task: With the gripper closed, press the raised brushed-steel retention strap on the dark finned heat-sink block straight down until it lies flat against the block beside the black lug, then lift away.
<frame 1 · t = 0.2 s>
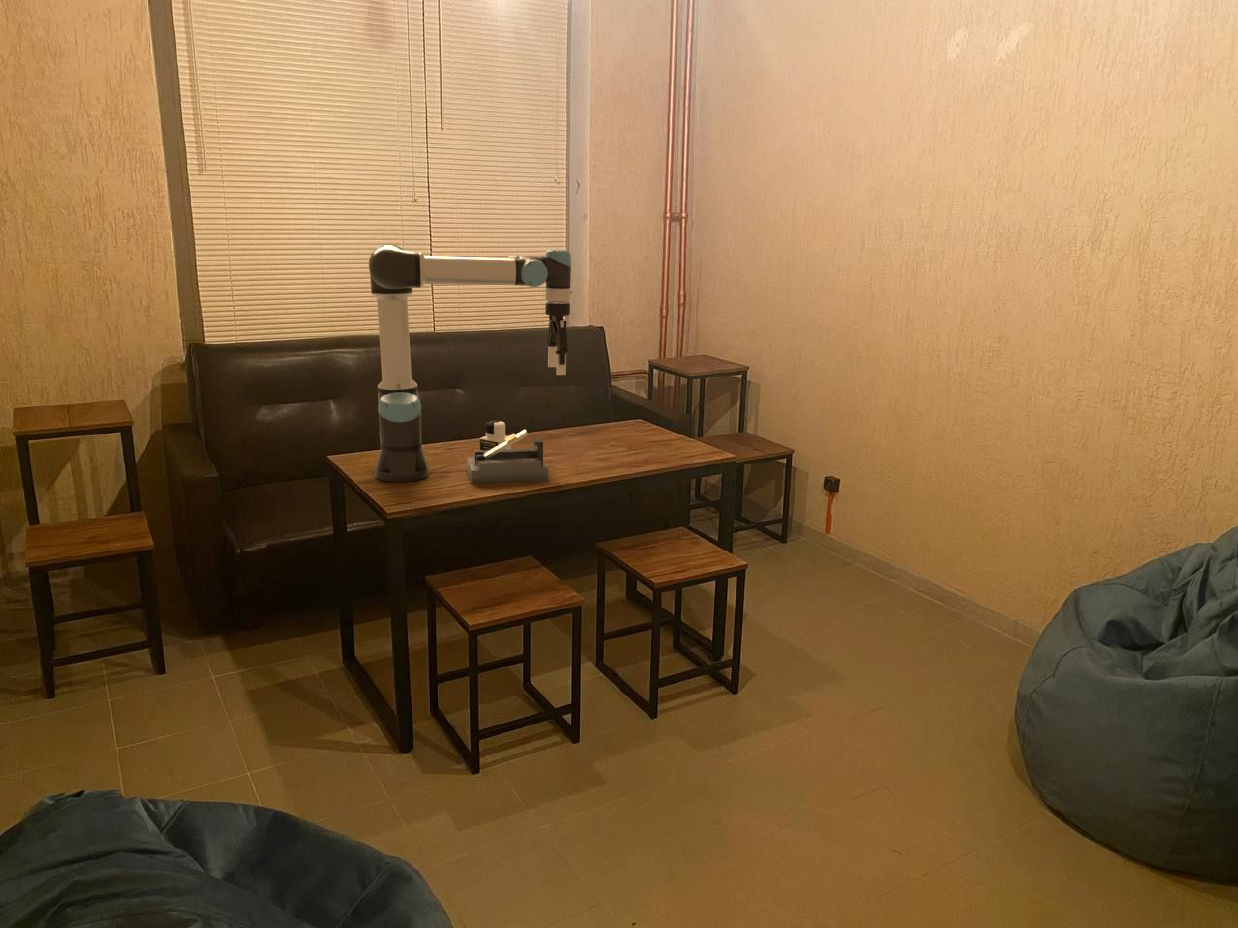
hand: (556, 371, 279), 28 cm above the table, fingers open, 13 cm apart
strap: (501, 446, 262), point 9 cm above the table, hinge at 30.0°
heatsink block: (506, 475, 265), on the table
medicine bottle: (495, 459, 282), on the table
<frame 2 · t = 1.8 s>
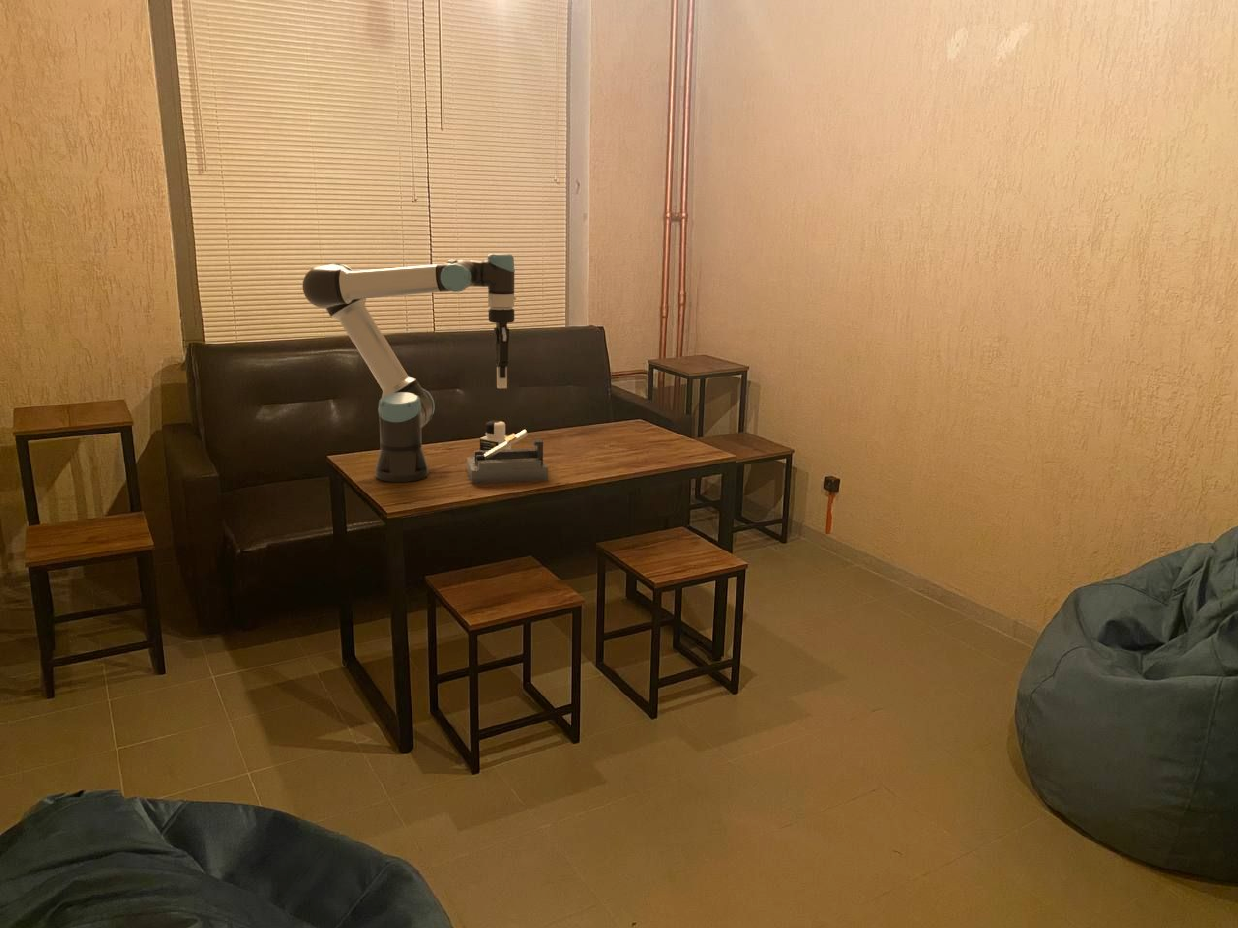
hand: (501, 387, 268), 24 cm above the table, fingers closed
nothing on the table moved.
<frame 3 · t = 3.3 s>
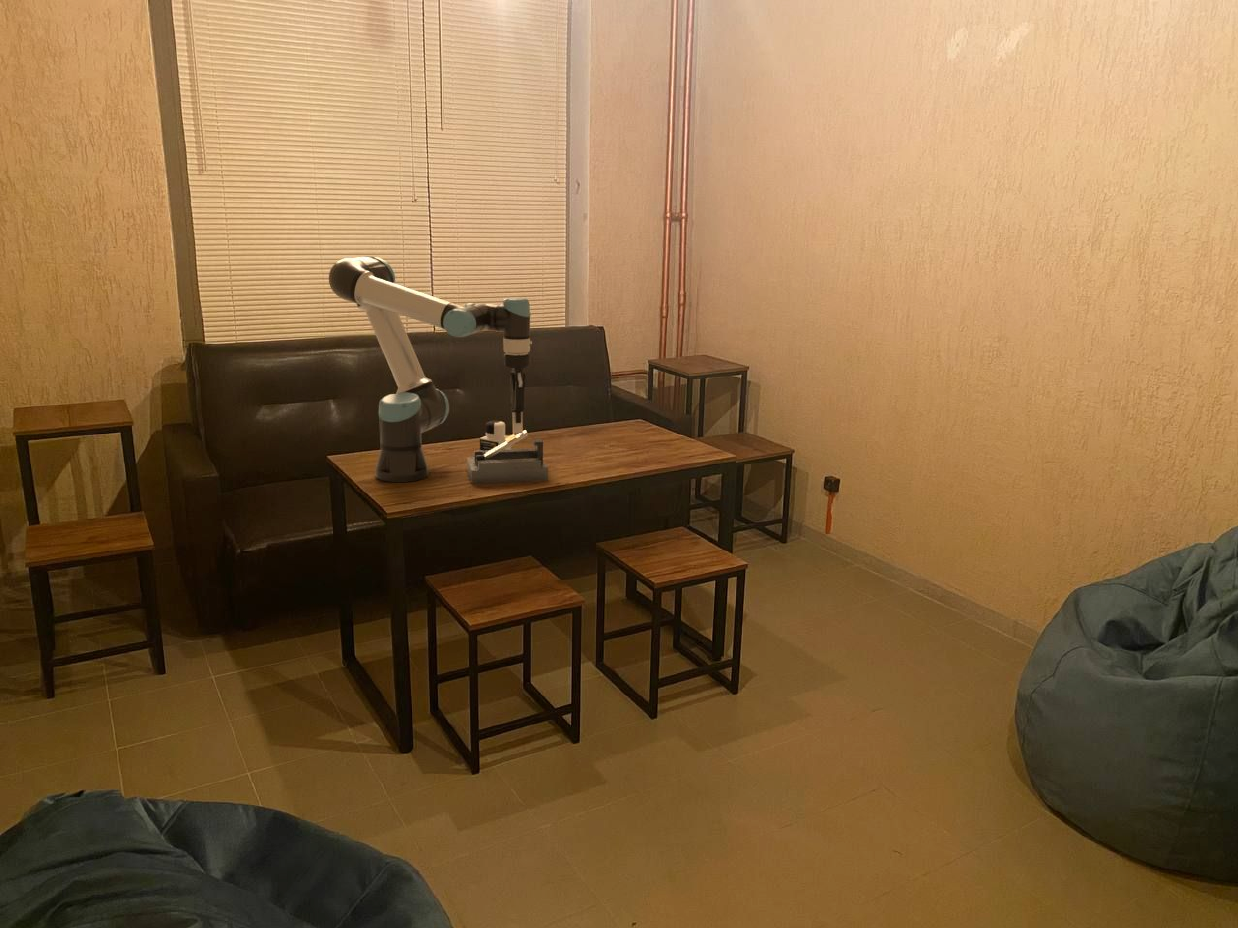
hand: (517, 432, 263), 13 cm above the table, fingers closed
strap: (501, 446, 262), point 9 cm above the table, hinge at 29.3°, touching gripper
everything else where it was.
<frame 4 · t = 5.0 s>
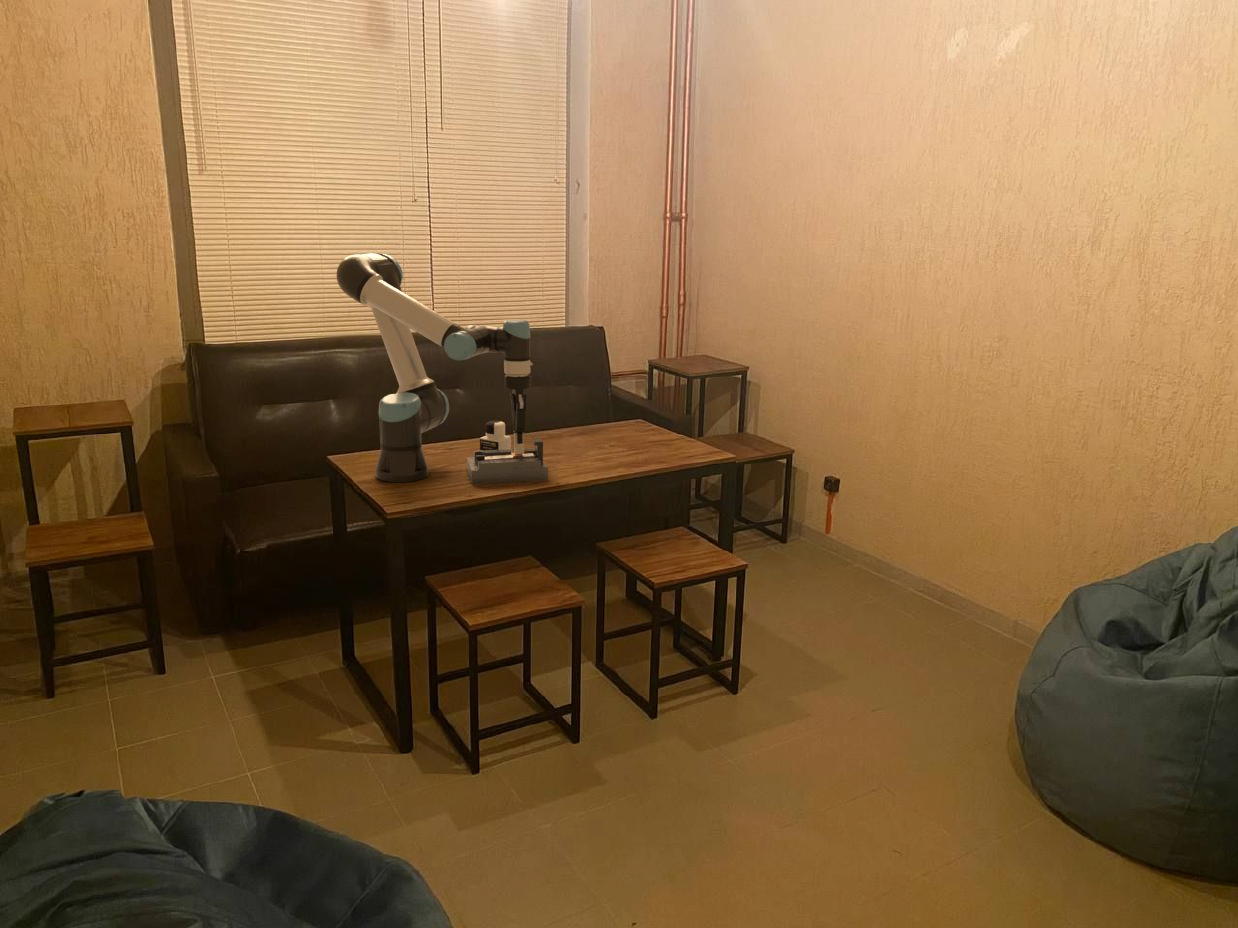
hand: (519, 453, 264), 7 cm above the table, fingers closed
strap: (505, 457, 264), point 5 cm above the table, hinge at 1.8°, touching gripper
everything else where it was.
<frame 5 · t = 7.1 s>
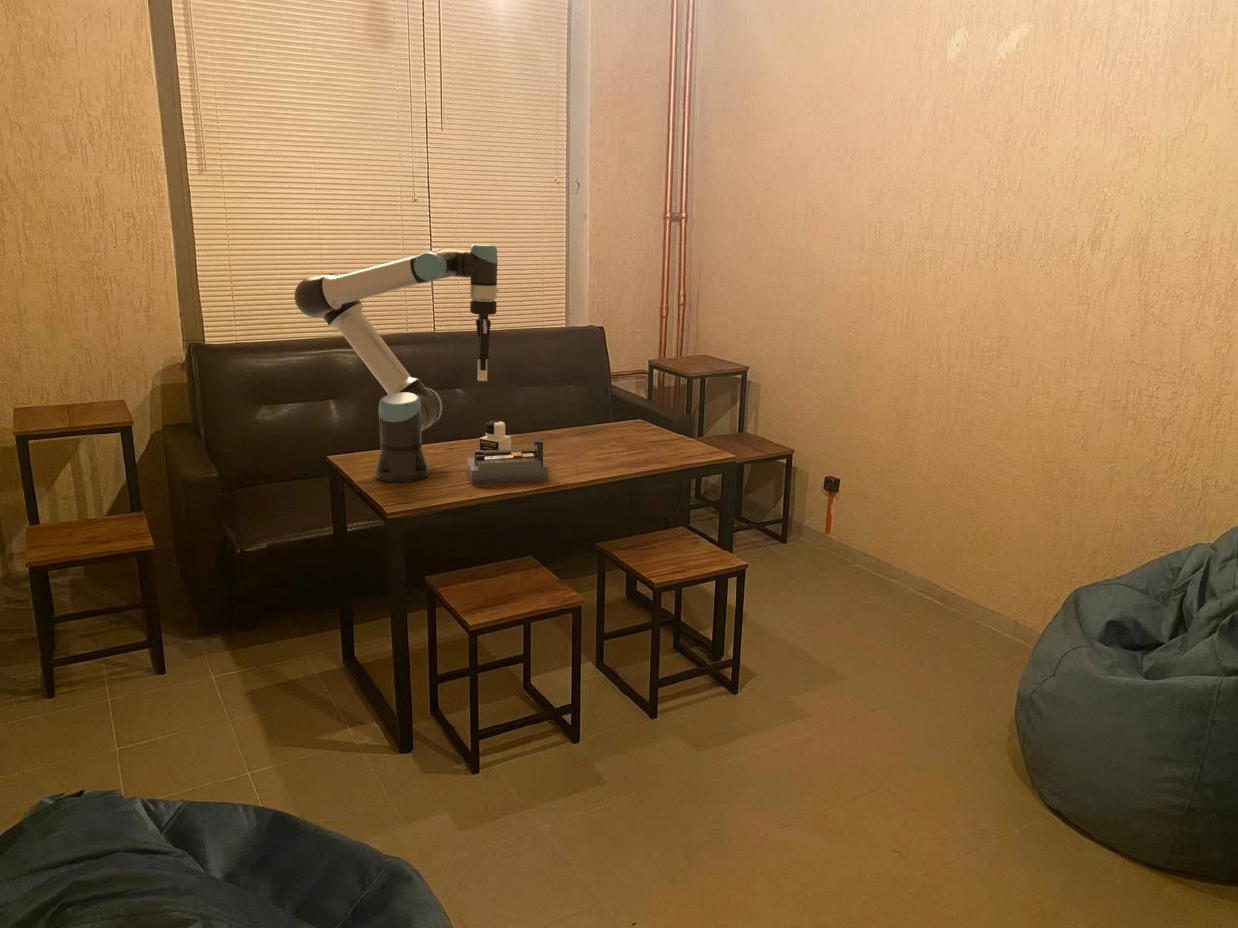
hand: (482, 380, 264), 27 cm above the table, fingers closed
strap: (505, 457, 264), point 5 cm above the table, hinge at 1.8°
everything else where it was.
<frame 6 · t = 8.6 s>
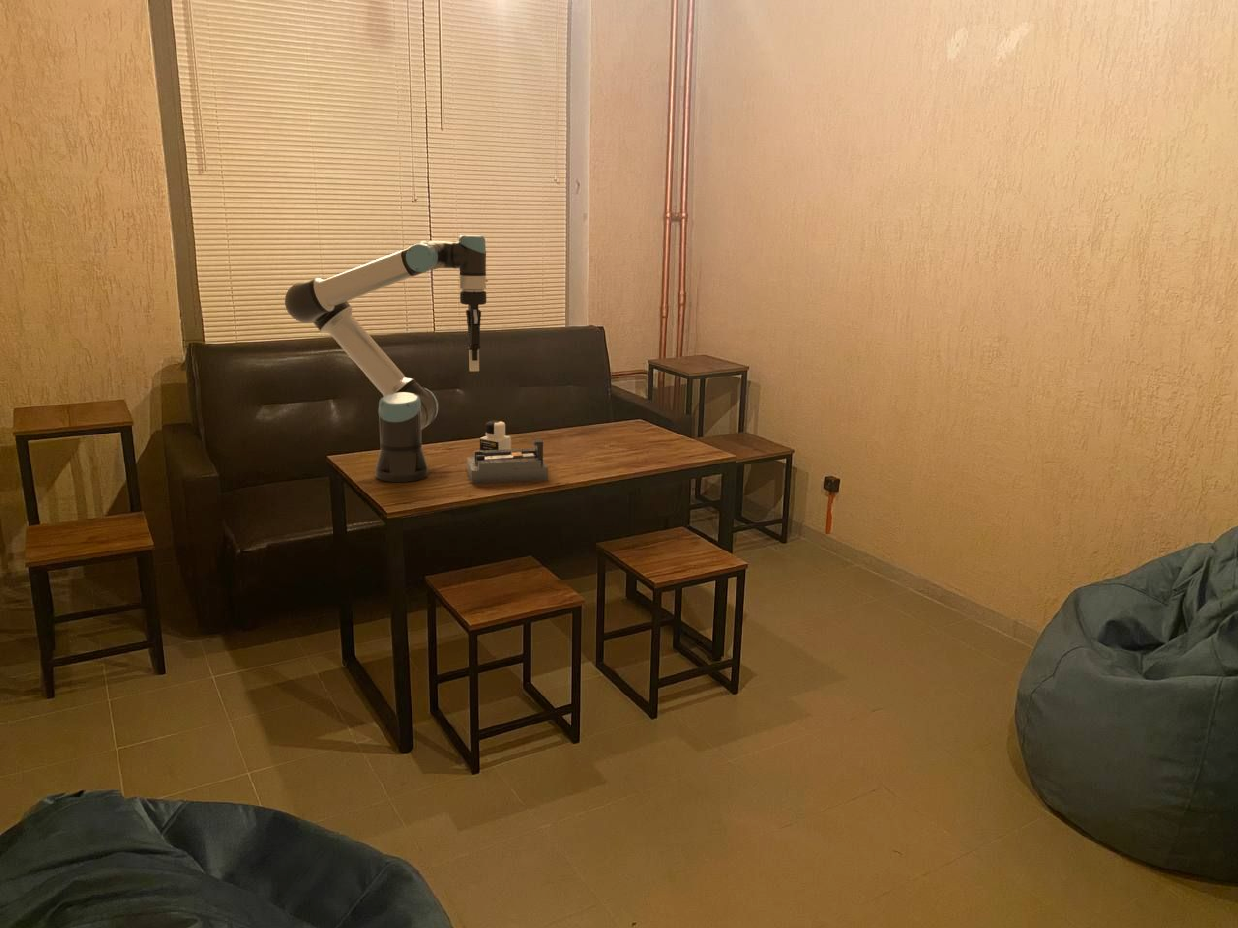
hand: (474, 370, 265), 29 cm above the table, fingers closed
nothing on the table moved.
at the end: strap at +2° (first picture: +30°); strap touching nothing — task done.
